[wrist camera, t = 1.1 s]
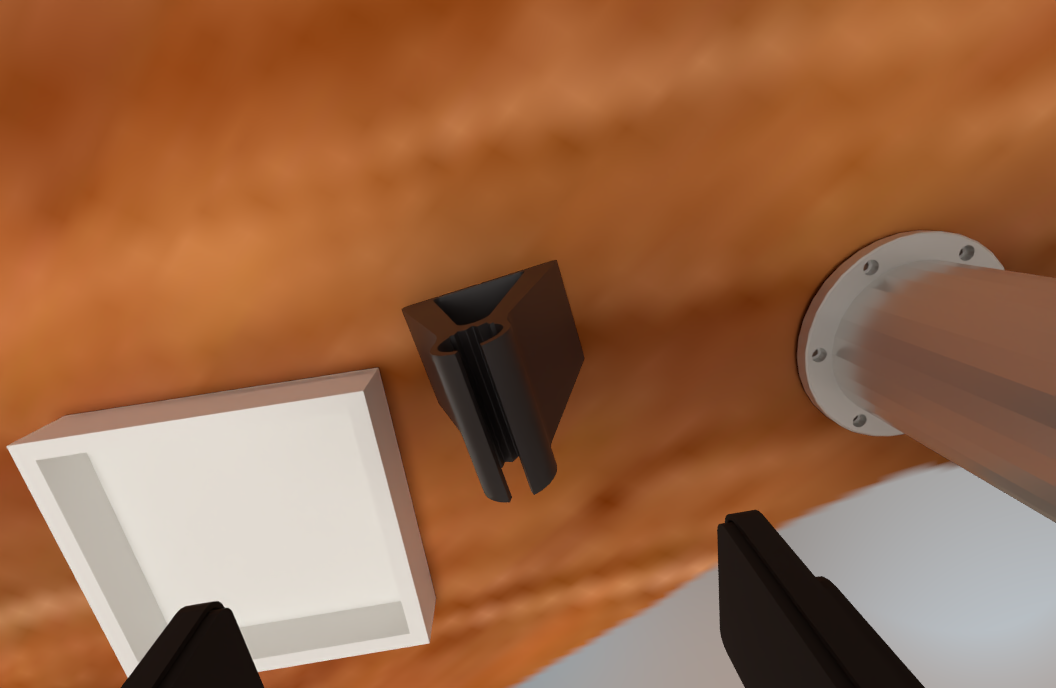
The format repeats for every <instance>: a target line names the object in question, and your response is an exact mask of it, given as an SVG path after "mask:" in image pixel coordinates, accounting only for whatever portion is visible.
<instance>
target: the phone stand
mask: <svg viewBox="0 0 1056 688" xmlns="http://www.w3.org/2000/svg"><path fill="white" fill-rule="evenodd" d="M402 312H403V314H404V317H405V319H406V322H407V324H408V327H409V329H410V332H411V334H412V337H413V339H414V342H415V345H416V347H417V350H418V352H419V355H420V357H421V360H422V362H423V365H424V367H425V370H426V372H427V375H428V377H429V380H430V382H431V385H432V387H433V390H434V392H435V395H436V397H437V400H438V403H439V404H440V406H441V407H442V408H443V410H444V411H445V412H446V413H447V415H448V416H449V417H450V419H451V420H452V421H453V423H454V424H455V425H456V426H457V428H458V429H459V430H460V432H461V434H462V436H463V439H464V441H465V444H466V447H467V449H468V452H469V454H470V457H471V459H472V462H473V465H474V467H475V470H476V472H477V475H478V477H479V480H480V483H481V485H482V488H483V490H484V493H485V495H486V496H487V497H488V498H489V499H491V500H493V501H497V502H510V501H511V498H512V496H511V493H510V491H509V488H508V485H507V482H506V480H505V477H504V474H503V472H502V469H501V468H502V467H503V465H504V463H505V462H513V461H514V460H515V459H516V458H517V457H518V456H519V458H520V460H521V463H522V466H523V469H524V472H525V475H526V477H527V480H528V483H529V486H530V489H531V491H532V493H533V494H534V495H535V494H537V493H538V492H540V491H541V490H543V489H544V488H545V487H546V486H548V485H549V484H550V482H551V481H552V480H553V478H554V477H555V475H556V472H557V465H556V461H555V458H554V455H553V452H552V449H551V443H552V440H553V437H554V435H555V432H556V430H557V427H558V424H559V422H560V419H561V417H562V414H563V412H564V409H565V407H566V404H567V402H568V399H569V396H570V394H571V391H572V389H573V386H574V384H575V381H576V379H577V376H578V374H579V371H580V368H581V366H582V363H583V361H584V355H583V351H582V348H581V344H580V341H579V337H578V334H577V330H576V327H575V323H574V320H573V316H572V313H571V309H570V306H569V302H568V299H567V295H566V292H565V288H564V285H563V281H562V278H561V274H560V271H559V267H558V263H557V260H554V261H550V262H546V263H543V264H540V265H537V266H534V267H531V268H527V269H524V270H521V271H518V272H515V273H512V274H508V275H505V276H502V277H499V278H496V279H493V280H489V281H486V282H483V283H481V284H478V285H473V286H470V287H467V288H464V289H461V290H458V291H454V292H451V293H448V294H445V295H442V296H439V297H435V298H432V299H429V300H426V301H423V302H419V303H416V304H413V305H410V306H407V307H405V308H403V309H402Z"/></svg>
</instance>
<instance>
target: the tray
mask: <svg viewBox="0 0 1056 688" xmlns="http://www.w3.org/2000/svg"><path fill="white" fill-rule="evenodd" d="M7 448H8V450H9V452H10V454H11V456H12V458H13V459H14V461H15V463H16V465H17V467H18V469H19V471H20V473H21V475H22V477H23V479H24V480H25V482H26V484H27V486H28V488H29V490H30V492H31V494H32V496H33V498H34V500H35V501H36V503H37V505H38V507H39V509H40V511H41V513H42V515H43V517H44V519H45V520H46V522H47V524H48V526H49V528H50V530H51V532H52V534H53V536H54V538H55V540H56V541H57V543H58V545H59V547H60V549H61V551H62V553H63V555H64V557H65V559H66V561H67V562H68V564H69V566H70V568H71V570H72V572H73V574H74V576H75V578H76V580H77V582H78V583H79V585H80V587H81V589H82V591H83V593H84V595H85V597H86V599H87V601H88V602H89V604H90V606H91V608H92V610H93V612H94V614H95V616H96V618H97V620H98V622H99V623H100V625H101V627H102V629H103V631H104V633H105V635H106V637H107V639H108V641H109V643H110V644H111V646H112V648H113V650H114V652H115V654H116V656H117V658H118V660H119V662H120V664H121V665H122V667H123V669H124V671H125V673H126V675H127V677H129V676H130V675H131V673H132V672H133V671H134V669H135V668H136V667H137V665H138V664H139V663H140V661H141V660H142V658H143V657H144V656H145V654H146V653H147V652H148V650H149V649H150V648H151V646H152V645H153V644H154V642H155V641H156V640H157V638H158V637H159V636H160V634H161V633H162V632H163V630H164V629H165V628H166V626H167V625H168V624H169V622H170V621H171V620H172V618H173V617H174V615H175V614H176V613H177V612H178V611H179V610H180V609H181V608H183V607H185V606H189V605H195V604H201V603H207V602H213V601H219V602H221V603H222V604H223V606H224V607H225V608H229V609H231V610H232V612H233V614H234V616H235V619H236V621H237V624H238V626H239V628H240V631H241V633H242V636H243V638H244V640H245V643H246V645H247V648H248V650H249V652H250V655H251V657H252V660H253V662H254V664H255V667H256V669H257V672H260V671H266V670H272V669H278V668H284V667H290V666H296V665H302V664H308V663H314V662H320V661H326V660H332V659H338V658H344V657H350V656H356V655H362V654H368V653H374V652H380V651H386V650H392V649H398V648H404V647H410V646H416V645H422V644H428V643H430V637H431V630H432V623H433V616H434V609H435V602H436V596H435V592H434V588H433V584H432V580H431V576H430V572H429V568H428V564H427V560H426V556H425V552H424V548H423V544H422V540H421V536H420V532H419V528H418V524H417V520H416V516H415V512H414V508H413V504H412V500H411V496H410V492H409V488H408V484H407V480H406V476H405V472H404V468H403V464H402V460H401V456H400V452H399V448H398V444H397V440H396V436H395V431H394V427H393V423H392V419H391V415H390V411H389V407H388V403H387V399H386V395H385V391H384V387H383V383H382V379H381V375H380V371H379V367H378V368H372V369H365V370H359V371H352V372H346V373H339V374H333V375H326V376H320V377H313V378H307V379H300V380H294V381H287V382H281V383H274V384H268V385H261V386H255V387H248V388H242V389H235V390H229V391H222V392H216V393H209V394H203V395H196V396H190V397H183V398H177V399H170V400H164V401H157V402H151V403H144V404H138V405H131V406H125V407H118V408H112V409H105V410H99V411H92V412H86V413H79V414H73V415H66V416H63V417H61V418H59V419H58V420H56V421H54V422H52V423H50V424H48V425H46V426H44V427H42V428H40V429H38V430H36V431H35V432H33V433H31V434H29V435H27V436H25V437H23V438H21V439H19V440H17V441H15V442H14V443H12V444H10V445H8V446H7Z"/></svg>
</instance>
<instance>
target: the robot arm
mask: <svg viewBox="0 0 1056 688" xmlns="http://www.w3.org/2000/svg"><path fill="white" fill-rule="evenodd" d="M797 361H798V369H799V376H800V379H801V381H802V384H803V387H804V390H805V392H806V393H807V395H808V397H809V398H810V400H811V401H812V403H813V404H814V405H815V406H816V407H817V408H818V409H819V410H820V411H821V412H822V413H823V414H824V415H825V416H827V417H828V418H830V419H831V420H833V421H834V422H836V423H837V424H839V425H840V426H842V427H844V428H846V429H848V430H850V431H853V432H856V433H860V434H865V435H870V436H896V435H902V434H906V435H908V436H909V437H911V438H913V439H914V440H916V441H918V442H920V443H921V444H923V445H925V446H926V447H928V448H930V449H931V450H933V451H935V452H936V453H938V454H940V455H942V456H943V457H945V458H947V459H948V460H950V461H952V462H953V463H955V464H957V465H959V466H960V467H962V468H964V469H965V470H967V471H969V472H971V473H972V474H974V475H976V476H978V477H979V478H981V479H983V480H984V481H986V482H987V483H989V484H991V485H993V486H994V487H996V488H998V489H999V490H1001V491H1003V492H1004V493H1006V494H1008V495H1010V496H1011V497H1013V498H1015V499H1017V500H1018V501H1020V502H1021V503H1023V504H1025V505H1027V506H1028V507H1030V508H1032V509H1033V510H1035V511H1037V512H1038V513H1040V514H1042V515H1044V516H1045V517H1047V518H1049V519H1050V520H1052V521H1054V522H1055V523H1056V278H1052V277H1045V276H1039V275H1032V274H1026V273H1019V272H1013V271H1006V270H1005V269H1004V267H1003V265H1002V264H1001V263H1000V261H999V260H998V259H997V258H996V256H995V255H994V254H993V253H992V252H991V251H990V250H989V249H987V248H986V247H985V246H983V245H982V244H981V243H979V242H978V241H976V240H973V239H971V238H968V237H966V236H964V235H961V234H956V233H949V232H943V231H926V230H917V231H910V232H904V233H898V234H895V235H892V236H889V237H886V238H883V239H880V240H878V241H876V242H874V243H872V244H870V245H869V246H867V247H865V248H863V249H861V250H859V251H858V252H857V253H855V254H854V255H853V256H851V257H850V258H849V259H848V260H846V261H845V262H844V263H842V264H841V265H840V266H839V267H838V268H837V269H836V270H835V271H834V272H833V274H832V275H831V276H830V277H829V278H828V279H827V280H826V281H825V282H824V284H823V285H822V287H821V288H820V290H819V291H818V293H817V294H816V295H815V297H814V298H813V300H812V302H811V304H810V306H809V309H808V311H807V313H806V315H805V317H804V320H803V323H802V327H801V331H800V335H799V338H798V351H797ZM717 533H718V572H719V610H720V632H721V638H722V641H723V644H724V647H725V649H726V652H727V654H728V656H729V657H730V659H731V661H732V663H733V665H734V667H735V669H736V671H737V673H738V675H739V677H740V679H741V681H742V683H743V684H744V687H745V688H925V687H924V686H923V685H922V684H921V683H920V682H919V680H918V679H917V678H916V677H915V676H914V675H913V674H912V673H911V671H910V670H909V669H908V668H907V667H906V666H905V664H904V663H903V662H902V661H901V660H900V659H899V658H898V657H897V655H896V654H895V653H894V652H893V651H892V650H891V648H890V647H889V646H888V645H887V644H886V643H885V642H884V641H883V639H882V638H881V637H880V636H879V635H878V634H877V633H876V631H875V630H874V629H873V628H872V627H871V626H870V625H869V624H868V622H867V621H866V620H865V619H864V618H863V617H862V615H861V614H860V613H859V612H858V611H857V610H856V609H855V608H854V606H853V605H852V604H851V603H850V602H849V601H848V599H847V598H846V597H845V596H844V595H843V594H842V593H841V592H840V590H839V589H838V588H837V587H836V586H835V585H834V584H833V583H832V582H831V581H830V580H828V579H826V578H824V577H822V576H821V577H815V576H814V575H813V574H812V572H811V571H810V570H809V569H808V568H807V567H806V565H805V564H804V563H803V562H802V561H801V560H800V558H799V557H798V556H797V555H796V554H795V552H794V551H793V550H792V549H791V548H790V546H789V545H788V544H787V543H786V542H785V540H784V539H783V538H782V537H781V536H780V535H779V533H778V532H777V531H776V530H775V529H774V527H773V526H772V525H771V524H770V523H769V522H768V520H767V519H766V518H765V517H764V516H763V514H762V513H760V512H759V511H757V510H751V511H745V512H740V513H734V514H728V515H727V516H726V518H725V523H723V524H719V525H718V530H717ZM121 688H264V686H263V684H262V681H261V679H260V676H259V674H258V672H257V669H256V667H255V664H254V662H253V660H252V657H251V655H250V652H249V650H248V648H247V645H246V643H245V640H244V638H243V636H242V633H241V631H240V628H239V626H238V624H237V621H236V619H235V616H234V614H233V612H232V610H231V609H229V608H225V607H224V606H223V604H222V603H221V602H219V601H213V602H207V603H201V604H195V605H189V606H185V607H183V608H181V609H180V610H179V611H178V612H177V613H176V614H175V615H174V617H173V618H172V620H171V621H170V622H169V624H168V625H167V626H166V628H165V629H164V630H163V632H162V633H161V634H160V636H159V637H158V638H157V640H156V641H155V642H154V644H153V645H152V646H151V648H150V649H149V650H148V652H147V653H146V654H145V656H144V657H143V658H142V660H141V661H140V663H139V664H138V665H137V667H136V668H135V669H134V671H133V672H132V673H131V675H130V676H129V677H128V679H127V680H126V681H125V683H124V684H123V685H122V687H121Z"/></svg>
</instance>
